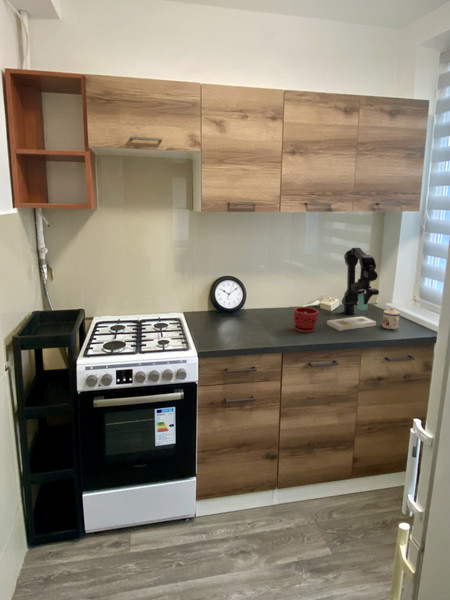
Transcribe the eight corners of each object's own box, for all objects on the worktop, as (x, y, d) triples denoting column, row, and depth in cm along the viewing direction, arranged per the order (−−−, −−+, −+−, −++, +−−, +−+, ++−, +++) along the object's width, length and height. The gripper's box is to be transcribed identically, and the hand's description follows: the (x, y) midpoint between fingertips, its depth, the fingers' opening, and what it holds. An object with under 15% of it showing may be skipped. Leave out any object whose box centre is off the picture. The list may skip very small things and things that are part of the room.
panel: (326, 324, 248) (327, 320, 248) (362, 320, 258) (362, 316, 257) (339, 330, 238) (339, 326, 237) (375, 325, 247) (376, 321, 246)
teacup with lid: (378, 324, 249) (380, 306, 246) (393, 324, 250) (395, 305, 247) (389, 331, 237) (391, 311, 234) (404, 330, 238) (406, 311, 236)
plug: (357, 308, 249) (358, 292, 246) (362, 308, 250) (364, 292, 248) (361, 310, 245) (363, 294, 243) (367, 309, 247) (368, 293, 244)
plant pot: (298, 334, 230) (299, 313, 227) (290, 327, 243) (291, 307, 240) (320, 333, 233) (322, 312, 230) (311, 326, 245) (312, 306, 242)
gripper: (343, 275, 249) (341, 300, 252) (364, 281, 232) (362, 308, 236) (359, 274, 253) (356, 299, 256) (380, 280, 236) (378, 306, 240)
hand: (362, 303), depth 247 cm, fingers closed on plug, 4 cm apart
